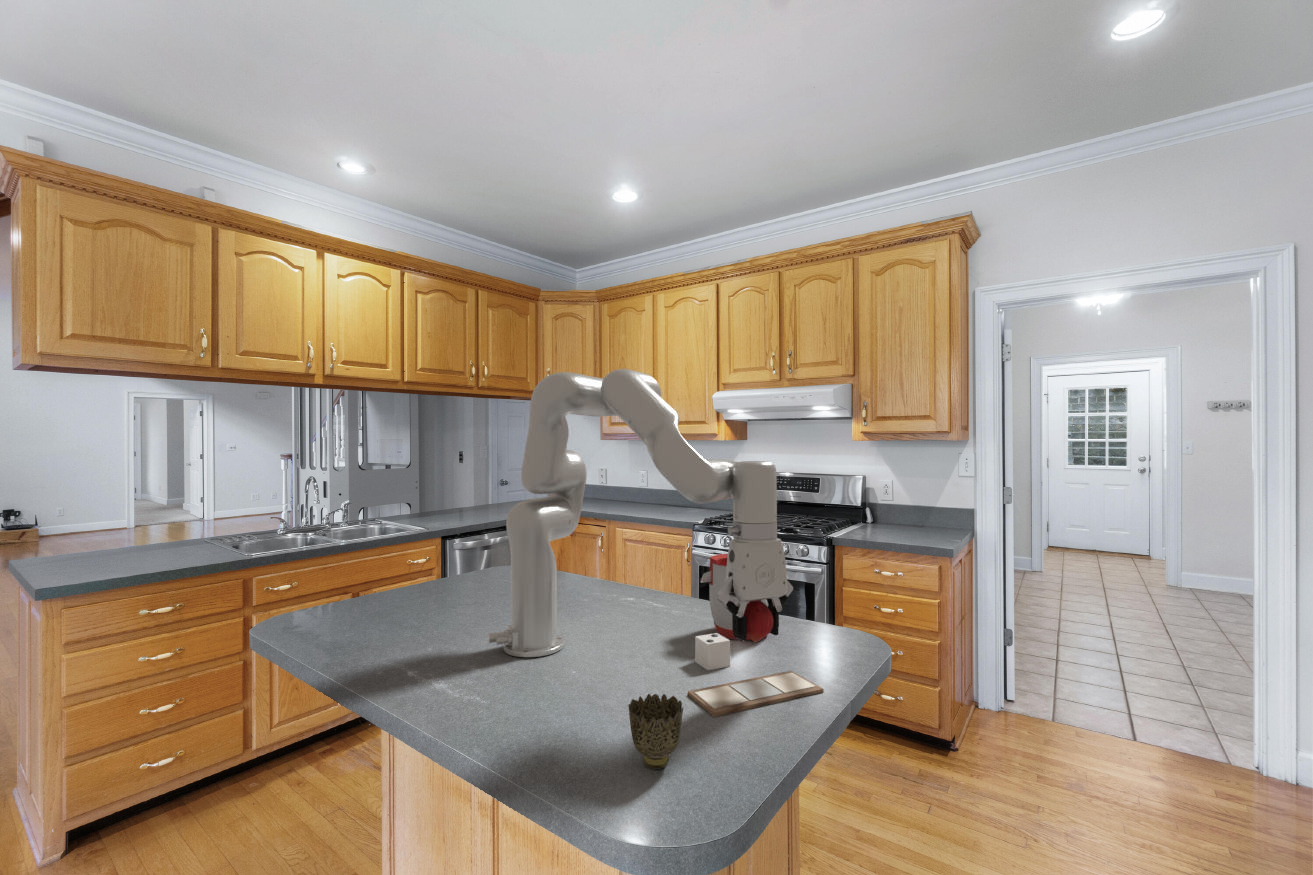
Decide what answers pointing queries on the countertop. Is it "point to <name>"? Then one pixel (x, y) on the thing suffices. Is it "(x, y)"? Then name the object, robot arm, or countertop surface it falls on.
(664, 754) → the cup
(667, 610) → the countertop surface
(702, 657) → the die
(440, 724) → the countertop surface
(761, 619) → the onion
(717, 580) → the citrus juicer
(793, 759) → the countertop surface
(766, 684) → the brown flat rectangular frame
